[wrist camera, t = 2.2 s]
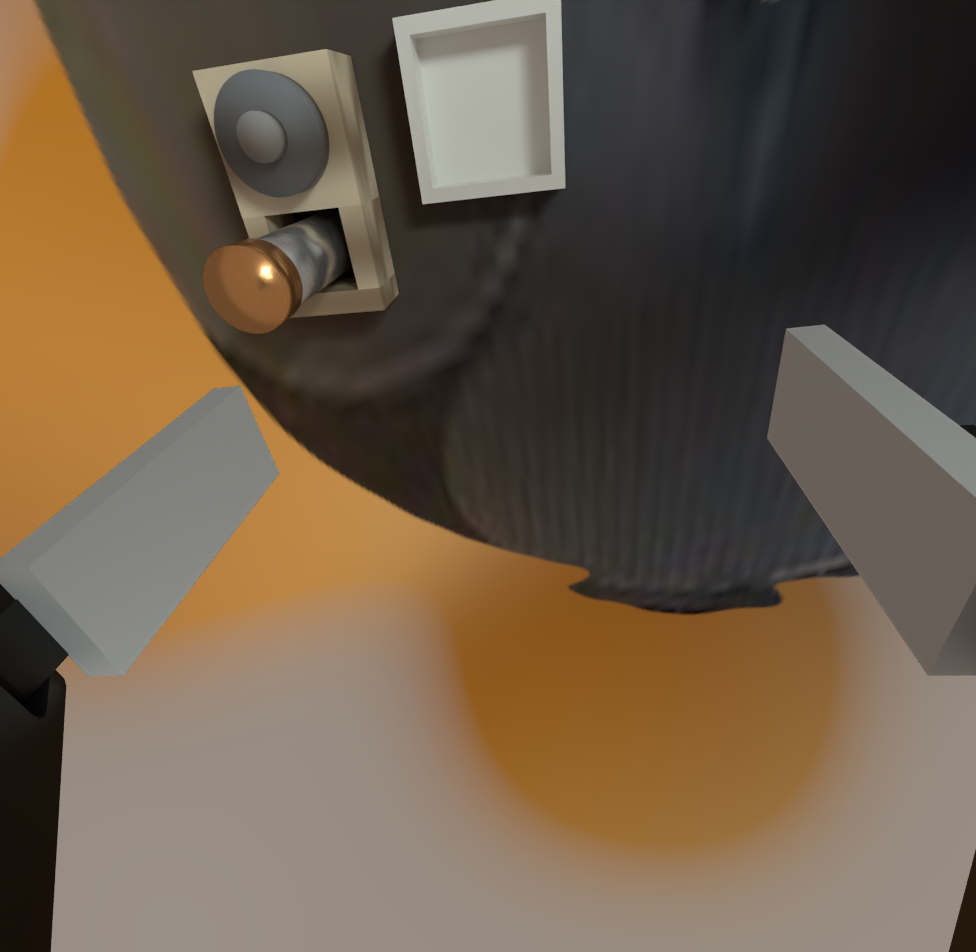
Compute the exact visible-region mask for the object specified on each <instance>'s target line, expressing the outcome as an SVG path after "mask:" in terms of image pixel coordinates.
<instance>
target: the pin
mask: <svg viewBox="0 0 976 952" xmlns="http://www.w3.org/2000/svg"><path fill="white" fill-rule="evenodd" d="M351 267H353V266H352V262H351V258H350V254H349V250H348V246H347V242H346V238H345V233H344V229H343V225H342V221H341V217H340V213H338V212H334V211H324V212H321V213H318V214H316V215H313V216H311V217H308V218H306V219H303V220H301V221H299V222H296V223H294V224H291V225H289V226H286V227H284V228H281V229H279V230H277V231H274V232H272V233H269V234H267V235H264V236H262V237H259V238H257V239H256V238H248V239H243V240H240V241H238V242H235V243H233V244H230V245H228V246H225V247H223V248H220V249H218V250H216V251H214V252H213V253H212V254H211V255H210V256H209V258H208V259H207V261H206V263H205V266H204V269H203V285H204V289H205V292H206V295H207V298H208V300H209V302H210V303H211V305H212V307H213V308H214V309H215V311H216V312H217V313H218V314H219V315H220V316H221V317H222V318H223V319H224V320H225V321H226V322H227V323H229V324H230V325H232V326H233V327H235V328H237V329H239V330H241V331H244V332H248V333H253V334H262V333H267V332H270V331H272V330H274V329H275V328H277V327H278V326H279V325H281V324H282V323H283V322H285V321H286V320H287V319H289V318H290V317H291V316H293V315H294V314H295V313H296V312H297V310H298V309H299V307H300V305H301V304H302V303H304V302H305V301H306V300H308V299H309V298H310V297H312V296H313V295H315V294H316V293H317V292H319V291H320V290H321V289H323V288H324V287H325V286H327V285H328V284H329V283H331V282H332V281H334V280H335V279H336V278H338V277H339V276H340V275H342V274H343V273H344V272H346V271H347V270H348V269H350V268H351Z"/></svg>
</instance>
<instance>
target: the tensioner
mask: <svg viewBox="0 0 976 952" xmlns="http://www.w3.org/2000/svg"><path fill="white" fill-rule="evenodd" d="M192 72H193V75H194V78H195V81H196V84H197V87H198V90H199V93H200V96H201V99H202V101H203V104H204V107H205V110H206V113H207V116H208V119H209V122H210V125H211V128H212V131H213V134H214V137H215V140H216V142H217V145H218V148H219V151H220V154H221V157H222V160H223V163H224V166H225V169H226V172H227V175H228V178H229V180H230V183H231V186H232V189H233V192H234V195H235V198H236V201H237V204H238V207H239V210H240V213H241V216H242V218H243V221H244V224H245V227H246V230H247V233H248V236H249V238H256V239H257V238H259V237H262V236H264V235H267V234H269V233H272V232H274V231H277V230H279V229H281V228H284V227H286V226H289V225H291V224H294V223H295V221H294V217H293V214H292V213H295V212H304V211H312V210H321V209H330V208H338V209H339V213H340V217H341V221H342V225H343V229H344V233H345V238H346V242H347V246H348V250H349V254H350V258H351V262H352V266H353V270H354V274H355V277H348V278H337V279H335V280H334V281H332V282H331V283H329V284H328V285H327V286H325V287H324V288H323V289H321V290H320V291H319V292H317V293H316V294H315V295H313V296H312V297H310V298H309V299H308V300H306V301H305V302H304V303H302V304H301V305H300V307H299V309H298V310H297V312H296V313H295V314H294V315H293V316H291V317H290V318H296V317H308V316H320V315H332V314H345V313H357V312H369V311H381V310H385V309H386V308H387V307H388V306H389V305H390V303H391V302H392V301H393V300H394V299H395V298H396V297H397V296H398V294H399V292H398V287H397V282H396V277H395V272H394V267H393V262H392V257H391V252H390V247H389V242H388V238H387V233H386V228H385V223H384V218H383V213H382V208H381V203H380V198H379V193H378V188H377V183H376V178H375V174H374V169H373V164H372V159H371V154H370V149H369V144H368V139H367V134H366V129H365V124H364V119H363V114H362V110H361V105H360V100H359V95H358V90H357V85H356V80H355V75H354V70H353V65H352V60H351V56H349V55H345V54H342V53H338V52H335V51H332V50H328V49H323V50H317V51H311V52H305V53H299V54H293V55H287V56H281V57H275V58H269V59H263V60H257V61H251V62H245V63H239V64H233V65H227V66H220V67H214V68H208V69H202V70H196V71H192Z"/></svg>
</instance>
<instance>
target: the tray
mask: <svg viewBox="0 0 976 952" xmlns="http://www.w3.org/2000/svg"><path fill="white" fill-rule="evenodd" d="M392 20H393V26H394V32H395V38H396V44H397V51H398V57H399V63H400V69H401V75H402V81H403V87H404V94H405V100H406V106H407V112H408V118H409V124H410V130H411V137H412V143H413V149H414V155H415V161H416V167H417V174H418V180H419V186H420V192H421V198H422V204H430V203H439V202H448V201H456V200H465V199H474V198H483V197H492V196H501V195H509V194H518V193H527V192H536V191H545V190H554V189H562V188H565V152H564V110H563V67H562V25H561V0H495V1H489V2H483V3H477V4H471V5H465V6H460V7H454V8H448V9H442V10H436V11H430V12H425V13H419V14H413V15H407V16H401V17H395V18H392Z"/></svg>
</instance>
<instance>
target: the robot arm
mask: <svg viewBox="0 0 976 952" xmlns="http://www.w3.org/2000/svg"><path fill="white" fill-rule="evenodd" d="M767 439H768V440H769V442H770V443H771V445H772V446H773V448H774V449H775V451H776V452H777V454H778V455H779V456H780V458H781V459H782V461H783V462H784V464H785V465H786V467H787V468H788V470H789V471H790V473H791V474H792V476H793V477H794V479H795V480H796V482H797V483H798V485H799V486H800V488H801V489H802V490H803V492H804V493H805V495H806V496H807V498H808V499H809V501H810V502H811V504H812V505H813V507H814V508H815V510H816V511H817V513H818V514H819V516H820V517H821V519H822V520H823V521H824V523H825V524H826V526H827V527H828V529H829V530H830V532H831V533H832V535H833V536H834V538H835V539H836V541H837V542H838V544H839V545H840V547H841V548H842V550H843V551H844V552H845V554H846V555H847V557H848V558H849V560H850V561H851V563H852V564H853V566H854V567H855V569H856V570H857V572H858V573H859V575H860V576H861V578H862V579H863V581H864V582H865V583H866V585H867V586H868V588H869V589H870V591H871V592H872V594H873V595H874V597H875V598H876V600H877V601H878V603H879V604H880V606H881V607H882V609H883V610H884V612H885V613H886V614H887V616H888V617H889V619H890V620H891V622H892V623H893V625H894V626H895V628H896V629H897V631H898V632H899V633H900V635H901V636H902V638H903V640H904V641H905V643H906V644H907V646H908V647H909V649H910V650H911V651H912V653H913V654H914V656H915V657H916V659H917V660H918V662H919V663H920V665H921V666H922V668H923V669H924V671H925V672H926V673H927V675H976V426H974V425H963V426H959V425H958V424H956V423H955V422H954V421H952V420H951V419H950V418H948V417H947V416H946V415H944V414H943V413H942V412H940V411H939V410H938V409H936V408H935V407H934V406H932V405H931V404H930V403H928V402H927V401H926V400H924V399H923V398H922V397H920V396H919V395H918V394H916V393H915V392H914V391H912V390H911V389H910V388H908V387H907V386H906V385H904V384H903V383H902V382H900V381H899V380H898V379H896V378H895V377H894V376H892V375H891V374H890V373H888V372H887V371H886V370H884V369H883V368H882V367H880V366H879V365H878V364H876V363H875V362H874V361H872V360H871V359H870V358H868V357H867V356H866V355H864V354H863V353H862V352H860V351H859V350H858V349H856V348H855V347H854V346H852V345H851V344H850V343H848V342H847V341H846V340H844V339H843V338H842V337H840V336H839V335H838V334H836V333H835V332H834V331H832V330H831V329H830V328H828V327H827V326H826V325H816V326H807V327H797V328H787V329H786V332H785V338H784V343H783V349H782V355H781V361H780V366H779V372H778V378H777V384H776V389H775V395H774V401H773V407H772V412H771V418H770V424H769V430H768V436H767ZM278 475H279V471H278V469H277V467H276V465H275V462H274V460H273V458H272V456H271V454H270V451H269V449H268V447H267V445H266V443H265V440H264V438H263V436H262V433H261V431H260V429H259V427H258V425H257V423H256V420H255V418H254V416H253V414H252V411H251V409H250V407H249V405H248V402H247V400H246V398H245V396H244V393H243V391H242V389H241V387H240V386H234V387H225V388H214V389H213V390H211V391H210V392H209V393H208V394H206V395H205V396H204V397H203V398H201V399H200V400H199V401H197V402H196V403H195V404H194V405H192V406H191V407H190V408H189V409H187V410H186V411H185V412H184V413H182V414H181V415H180V416H179V417H177V418H176V419H175V420H174V421H172V422H171V423H170V424H169V425H167V426H166V427H165V428H164V429H162V430H161V431H160V432H159V433H157V434H156V435H155V436H154V437H152V438H151V439H150V440H148V441H147V442H146V443H145V444H143V445H142V446H141V447H140V448H138V449H137V450H136V451H135V452H133V453H132V454H131V455H130V456H128V457H127V458H126V459H125V460H123V461H122V462H121V463H119V464H118V465H117V466H116V467H114V468H113V469H112V470H111V471H109V472H108V473H107V474H106V475H104V476H103V477H102V478H101V479H99V480H98V481H97V482H96V483H94V484H93V485H92V486H91V487H89V488H88V489H87V490H86V491H84V492H83V493H82V494H81V495H79V496H78V497H77V498H75V499H74V500H73V501H72V502H70V503H69V504H68V505H67V506H65V507H64V508H63V509H62V510H61V511H59V512H58V513H57V514H55V515H54V516H53V517H52V518H51V519H49V520H48V521H47V522H45V523H44V524H43V525H42V526H40V527H39V528H38V529H37V530H35V531H34V532H33V533H32V534H30V535H29V536H28V537H27V538H25V539H24V540H23V541H21V542H20V543H19V544H18V545H16V547H14V548H13V549H11V550H10V551H9V552H8V553H6V554H5V555H4V556H3V557H1V558H0V952H51V937H52V920H53V919H52V918H53V903H54V885H55V868H56V852H57V834H58V817H59V800H60V783H61V766H62V749H63V732H64V715H65V697H66V684H65V680H64V678H63V677H62V676H61V675H60V674H59V673H58V672H57V671H56V670H55V669H56V668H57V667H58V666H59V665H60V664H61V663H62V662H63V661H64V659H65V658H66V657H67V656H69V657H70V658H71V659H72V660H73V661H74V662H75V663H76V664H77V665H78V666H79V667H80V669H82V671H83V672H84V673H85V674H86V675H87V676H124V675H125V673H126V672H127V670H128V669H129V668H130V667H131V666H132V664H133V663H134V662H135V660H136V659H137V658H138V656H139V655H140V654H141V652H142V651H143V650H144V648H145V647H146V646H147V645H148V643H149V642H150V640H152V638H153V637H154V636H155V634H156V633H157V631H158V630H159V629H160V628H161V626H162V625H163V624H164V623H165V621H166V620H167V619H168V617H169V616H170V615H171V614H172V612H173V611H174V610H175V608H176V607H177V606H178V604H179V603H180V602H181V601H182V599H183V598H184V597H185V595H186V594H187V593H188V591H189V590H190V589H191V588H192V586H193V585H194V584H195V582H196V581H197V580H198V578H199V577H200V576H201V575H202V573H203V572H204V571H205V569H206V568H207V567H208V565H209V564H210V563H211V562H212V560H213V559H214V558H215V556H216V555H217V554H218V553H219V551H220V550H221V549H222V547H223V546H224V545H225V543H226V542H227V541H228V540H229V538H230V537H231V536H232V534H233V533H234V532H235V530H236V529H237V528H238V526H239V525H240V524H241V522H242V521H243V520H244V518H245V517H246V516H247V515H248V514H249V512H250V511H251V510H252V508H253V507H254V506H255V504H256V503H257V502H258V501H259V499H260V498H261V497H262V495H263V494H264V493H265V491H266V490H267V489H268V487H269V486H270V485H271V483H272V482H273V481H274V480H275V478H276V477H277V476H278ZM949 952H976V851H975V855H974V858H973V862H972V866H971V870H970V874H969V877H968V881H967V885H966V889H965V893H964V896H963V900H962V904H961V908H960V911H959V915H958V919H957V923H956V927H955V930H954V934H953V938H952V942H951V946H950V949H949Z"/></svg>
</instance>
